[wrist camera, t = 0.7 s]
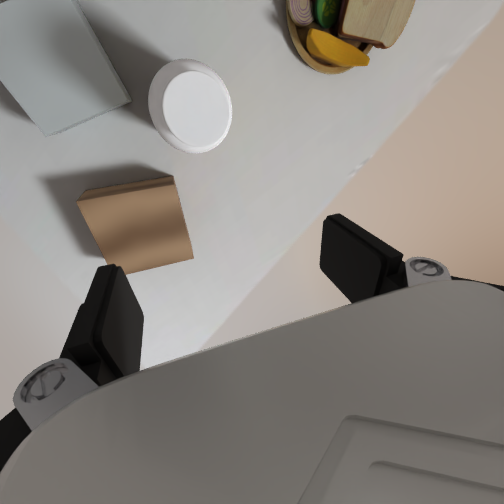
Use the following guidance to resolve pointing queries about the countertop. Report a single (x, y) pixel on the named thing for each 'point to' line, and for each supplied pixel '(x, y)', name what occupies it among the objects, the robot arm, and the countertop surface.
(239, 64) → the countertop surface
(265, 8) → the countertop surface
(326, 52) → the toy sandwich meal
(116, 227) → the walnut block
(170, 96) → the supplement bottle
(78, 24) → the slate block
